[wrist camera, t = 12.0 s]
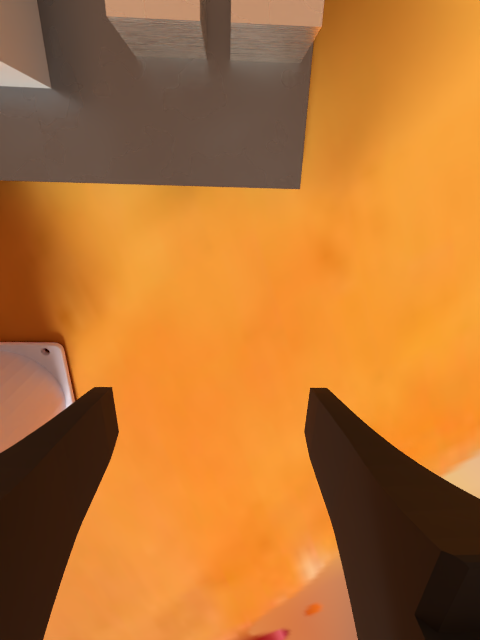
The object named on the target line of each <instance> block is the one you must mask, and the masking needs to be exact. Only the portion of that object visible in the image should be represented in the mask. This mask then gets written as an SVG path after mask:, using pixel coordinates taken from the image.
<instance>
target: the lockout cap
mask: <svg viewBox="0 0 480 640" xmlns="http://www.w3.org/2000/svg"><path fill="white" fill-rule="evenodd" d="M0 86H10V87H31V88H51V83H50V77H49V71H48V65H47V59H46V53H45V47H44V41H43V35H42V28H41V22H40V16H39V10H38V4H37V0H0Z"/></svg>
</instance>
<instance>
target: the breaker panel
mask: <svg viewBox="0 0 480 640" xmlns="http://www.w3.org/2000/svg"><path fill="white" fill-rule="evenodd" d="M37 4H38V10H39V16H40V22H41V28H42V35H43V41H44V47H45V53H46V59H47V65H48V71H49V77H50V83H51V88H31V87H10V86H0V180H5V181H40V182H74V183H109V184H144V185H178V186H213V187H247V188H282V189H300V182H301V171H302V161H303V150H304V139H305V128H306V117H307V107H308V96H309V85H310V74H311V63H312V53H313V42H314V39H315V37H316V36H317V34H318V32H319V31H320V29H321V27H322V19H323V9H324V0H37Z"/></svg>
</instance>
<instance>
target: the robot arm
mask: <svg viewBox="0 0 480 640" xmlns="http://www.w3.org/2000/svg"><path fill="white" fill-rule="evenodd" d="M44 348H46V349H48V350H49V352H50V353H49V352H46V351H45V349H44ZM304 432H305V437H306V442H307V447H308V452H309V457H310V460H311V463H312V466H313V469H314V472H315V475H316V478H317V481H318V484H319V487H320V490H321V493H322V496H323V499H324V502H325V505H326V507H327V510H328V513H329V516H330V519H331V523H332V526H333V529H334V533H335V537H336V541H337V545H338V550H339V554H340V558H341V561H342V566H343V570H344V575H345V579H346V584H347V589H348V593H349V598H350V602H351V607H352V612H353V617H354V622H355V627H356V631H357V636H358V640H480V499H479V498H477V497H475V496H473V495H471V494H469V493H467V492H466V491H464V490H462V489H460V488H458V487H456V486H455V485H453V484H451V483H449V482H448V481H446V480H444V479H443V478H441V477H439V476H438V475H436V474H434V473H433V472H431V471H429V470H428V469H426V468H425V467H423V466H422V465H420V464H418V463H417V462H415V461H414V460H413V459H411V458H410V457H408V456H407V455H405V454H404V453H402V452H401V451H400V450H398V449H397V448H395V447H394V446H393V445H391V444H390V443H389V442H388V441H386V440H385V439H384V438H383V437H381V436H380V435H379V434H378V433H376V432H375V431H374V430H373V429H371V428H370V427H369V426H368V425H367V424H366V423H364V422H363V421H362V420H361V419H360V418H359V417H358V416H356V415H355V414H354V413H353V412H352V411H351V410H350V409H349V408H348V407H347V406H346V405H345V404H343V403H342V402H341V401H340V400H339V399H338V398H337V397H336V396H335V395H334V394H333V393H332V392H331V391H330V390H328V389H327V388H310V394H309V401H308V409H307V416H306V424H305V431H304ZM118 433H119V430H118V424H117V417H116V411H115V404H114V398H113V391H112V387H94V388H93V389H91V390H90V391H88V392H87V393H86V394H84V395H83V396H82V397H80V398H79V399H78V400H76V401H75V399H74V394H73V389H72V385H71V380H70V375H69V371H68V366H67V361H66V356H65V352H64V348H63V346H62V345H61V344H59V343H55V342H0V640H43V638H44V634H45V631H46V628H47V624H48V621H49V618H50V614H51V611H52V608H53V605H54V602H55V599H56V595H57V592H58V589H59V586H60V583H61V580H62V577H63V574H64V571H65V568H66V565H67V562H68V559H69V556H70V553H71V551H72V548H73V545H74V542H75V539H76V536H77V534H78V531H79V529H80V526H81V524H82V521H83V519H84V517H85V515H86V513H87V510H88V508H89V506H90V504H91V502H92V499H93V497H94V495H95V493H96V491H97V488H98V486H99V484H100V482H101V480H102V477H103V475H104V473H105V471H106V468H107V466H108V464H109V462H110V459H111V456H112V453H113V450H114V447H115V443H116V440H117V437H118Z"/></svg>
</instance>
